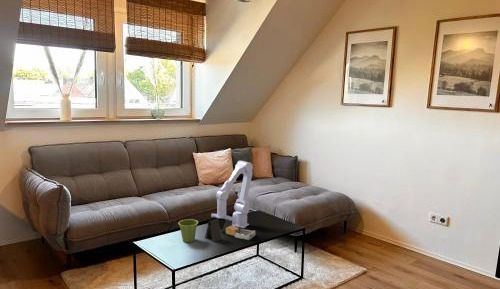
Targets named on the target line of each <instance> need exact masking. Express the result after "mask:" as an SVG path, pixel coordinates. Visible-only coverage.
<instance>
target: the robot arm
mask: <svg viewBox="0 0 500 289" xmlns="http://www.w3.org/2000/svg"><path fill="white" fill-rule="evenodd" d="M253 168H254V165H253V163H252V162H250V161H249V162H248V161H245V160H242V159H241V160H238V161H237V162H236V164H235V168H234V170H233V171H232V174H231V175H230V178H228V180H225V182H224V184H223V185H222V187H221V188H220V189H218V191H216V194H215V195H214V196H215V198H216V204H217V206H216V208H217V210H216V211H217V213H211V215H210V216H211V218H216V219H218V221H219V222H218V225H219V229H220V231H221V230H224V227H225V223H226V222H227V221H232V222H231V226H233V227H237V228H240V229H245V228H246V227H247V226H249V225H250V224H249V223H248V213H249V212H250V202H249V200H248V198H249V193H250V188H251V183H252V178H253ZM241 174H242V176H243V178H242V183H241V188H240V193H239V198H237V199H236V201H235V203H234V205H233V209H234V212H233V213H232V216H230V215H227V200H228V198H229V194H230V192H231V190H232V189H233V187H234V183H235V181H236V180H237V178H239V176H240V175H241Z"/></svg>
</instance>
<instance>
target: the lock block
mask: <svg viewBox="0 0 500 289" xmlns="http://www.w3.org/2000/svg"><path fill="white" fill-rule="evenodd" d="M235 233H240V227H236V226H232V225H229V226H227V227H226V228H225V234H226V235H228V236H232V237H235Z"/></svg>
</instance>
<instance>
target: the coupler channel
mask: <svg viewBox="0 0 500 289" xmlns="http://www.w3.org/2000/svg"><path fill="white" fill-rule="evenodd" d="M255 236H256V230H249V229H245V228H239V233H235V236H234V238H236V239H242V240H247V241H250V240H252V239H253V238H254V237H255Z"/></svg>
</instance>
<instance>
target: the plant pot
mask: <svg viewBox="0 0 500 289" xmlns="http://www.w3.org/2000/svg"><path fill="white" fill-rule="evenodd" d="M198 224H199V221H198V220H197V219H192V218H191V219H189V218H188V219H182V220H180V221H179V222H178V225H179V226H178V227H179V228H180V233H181V234H180V235H181V239H182V242H184V243H192V242H194V241H195V240H196V232H197V227H198Z"/></svg>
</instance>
